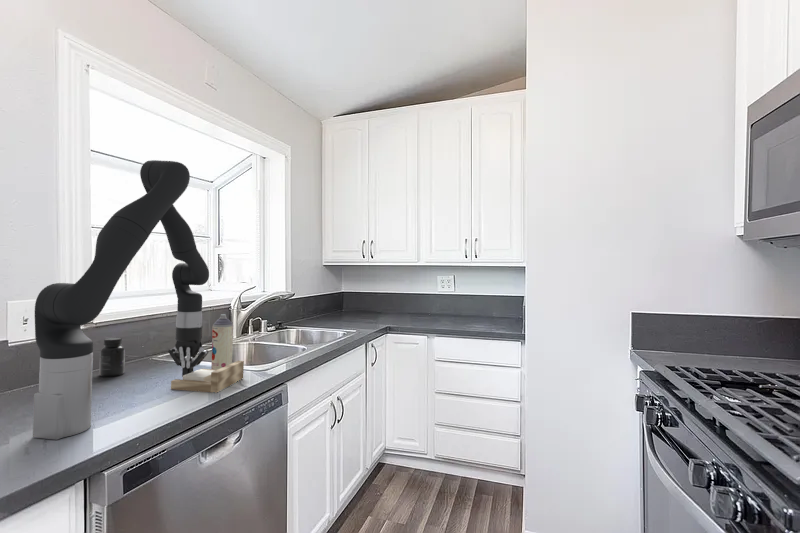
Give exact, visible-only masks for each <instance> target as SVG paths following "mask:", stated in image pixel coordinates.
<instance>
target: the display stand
mask: <svg viewBox="0 0 800 533" xmlns="http://www.w3.org/2000/svg"><path fill="white" fill-rule="evenodd" d="M244 362H245V361H243V360H237V361H234V362H232V364H229V365H227V366H225V367H223V368H220V369H218V370H216V371H213V372H211V382H206V381H193V380H183V379H177V378H175V379H173V380H171V381H170V382H171V383H170V390H177V391H188V392H199V391H200V393H201V392H202V393H213V392H215V393H216V394H218V393H219V391H220V390H221V391H223V390H225V389H227V388H229V387H231V386H233V385H234V383H235V384H237V383H238V382H240V381H242V380H243V379H244V366H245V363H244ZM203 369H204V370H215V369H210V368H203ZM242 378H243V379H242ZM241 379H242V380H241ZM239 380H240V381H239ZM237 381H238V382H237ZM236 382H237V383H236ZM232 384H233V385H232ZM230 385H231V386H230ZM228 386H229V387H228ZM226 387H227V388H226ZM224 388H225V389H224ZM222 389H223V390H222ZM221 391H220V392H221ZM217 392H218V393H217ZM215 393H214V394H215Z"/></svg>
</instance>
